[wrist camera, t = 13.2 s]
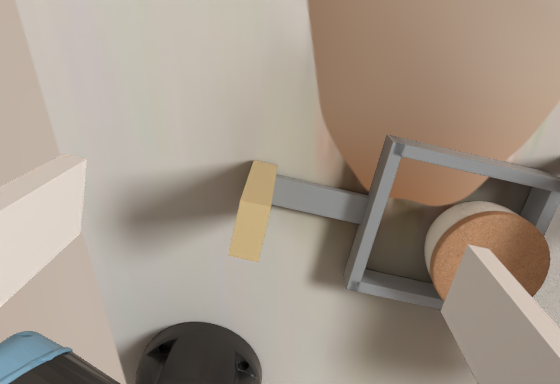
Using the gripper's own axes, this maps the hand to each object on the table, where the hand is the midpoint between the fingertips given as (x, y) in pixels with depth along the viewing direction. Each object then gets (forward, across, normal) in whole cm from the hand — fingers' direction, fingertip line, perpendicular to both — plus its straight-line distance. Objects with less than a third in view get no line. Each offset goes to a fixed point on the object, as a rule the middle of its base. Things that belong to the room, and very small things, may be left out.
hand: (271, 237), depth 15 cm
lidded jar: (+32, -22, +10) cm, 40 cm away
